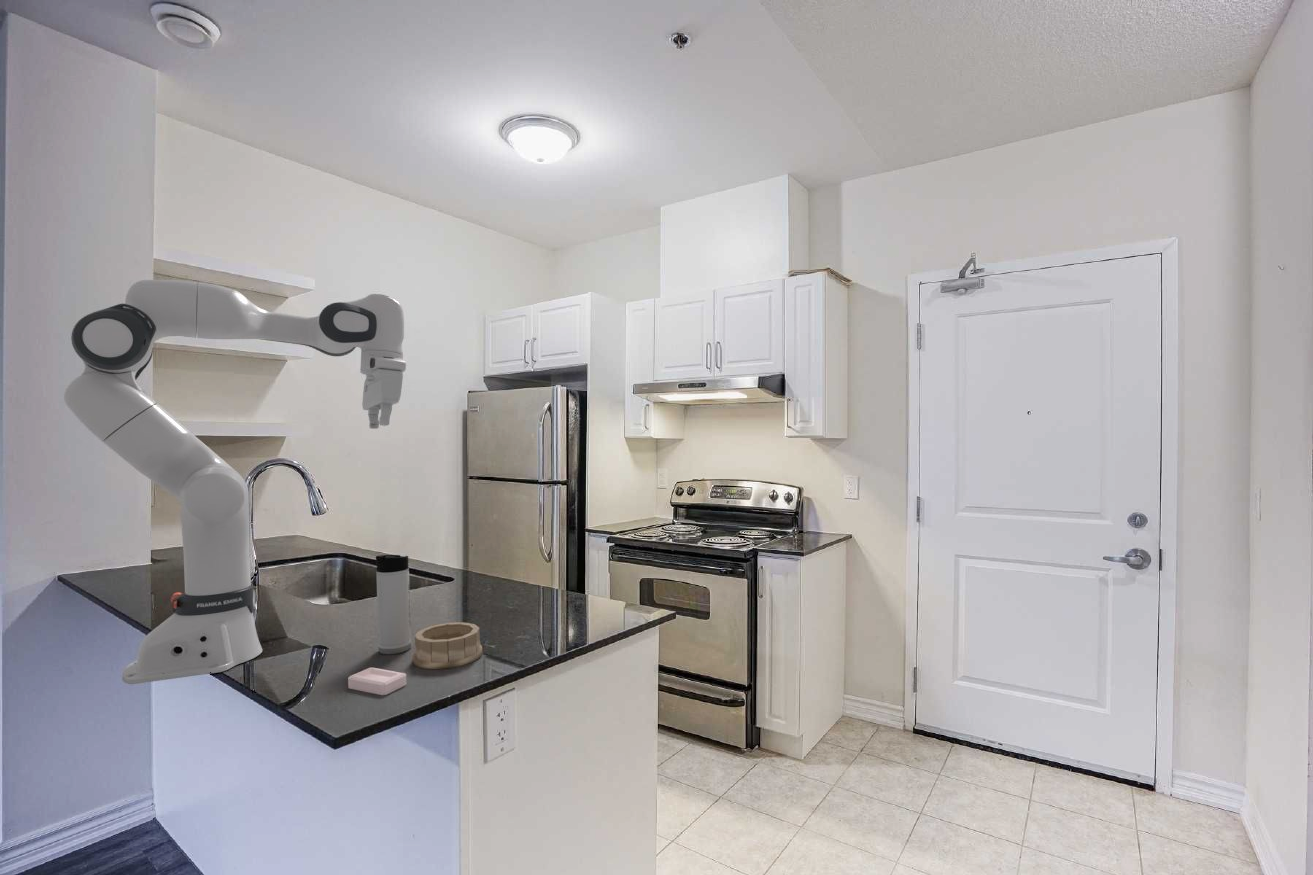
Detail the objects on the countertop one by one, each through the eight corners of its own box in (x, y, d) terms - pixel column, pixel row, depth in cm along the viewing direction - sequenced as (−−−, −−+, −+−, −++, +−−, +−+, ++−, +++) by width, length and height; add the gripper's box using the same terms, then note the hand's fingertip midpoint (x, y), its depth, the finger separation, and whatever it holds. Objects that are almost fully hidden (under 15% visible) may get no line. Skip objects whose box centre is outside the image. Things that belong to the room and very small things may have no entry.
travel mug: (370, 652, 132) (367, 555, 132) (397, 642, 138) (394, 549, 138) (391, 657, 129) (388, 557, 129) (417, 646, 135) (415, 551, 135)
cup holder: (422, 674, 120) (421, 647, 120) (406, 654, 131) (405, 629, 131) (491, 658, 127) (490, 633, 127) (470, 641, 138) (470, 617, 138)
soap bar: (384, 697, 111) (383, 683, 111) (346, 689, 115) (346, 676, 114) (408, 685, 116) (407, 672, 116) (371, 678, 119) (371, 665, 119)
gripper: (357, 371, 154) (354, 429, 153) (377, 357, 138) (374, 422, 136) (384, 374, 158) (382, 431, 157) (408, 361, 141) (405, 424, 140)
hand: (378, 427), depth 146 cm, fingers open, 8 cm apart
